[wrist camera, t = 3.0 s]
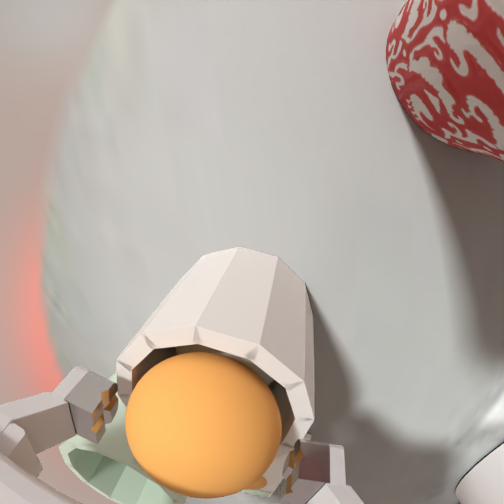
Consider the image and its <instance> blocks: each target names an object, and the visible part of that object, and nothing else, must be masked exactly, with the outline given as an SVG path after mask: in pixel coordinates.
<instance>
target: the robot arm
mask: <svg viewBox="0 0 504 504" xmlns="http://www.w3.org/2000/svg"><path fill="white" fill-rule="evenodd" d="M117 391H118V384H117V383H115V382H113V381H111V380H108V379H106V378H104V377H102V376H100V375H98V374H96V373H94V372H92V371H90V370H88V369H86V368H84V367H82V366H80V365H78V366H76V367H74V368H73V369H72V370H71V371H70V373H69V374H68V375H67V376H66V377H65V378H64V379H63V381H62V382H61V383H60V384H59V385H58V386H57V387H56V389H55V390H54V391H53V392H52V393H51V392H44V393H41V394H38V395H34V396H30V397H27V398H24V399H20V400H16V401H12V402H9V403H5V404H1V405H0V504H81V503H80V502H78V501H76V500H74V499H72V498H70V497H68V496H66V495H65V494H63V493H61V492H60V491H58V490H56V489H55V488H53V487H51V486H49V485H48V484H46V483H45V482H43V481H42V480H40V479H38V478H37V477H38V476H39V474H40V473H41V471H42V465H41V463H40V461H39V459H38V457H37V456H36V454H38V453H40V452H42V451H44V450H46V449H48V448H51V447H53V446H55V445H57V444H59V443H62V442H64V441H66V440H68V439H70V438H72V437H74V436H76V434H77V435H79V436H81V437H83V438H85V439H87V440H89V441H91V442H93V443H96V444H98V443H99V441H100V440H101V438H102V437H103V435H104V433H105V432H106V428H105V425H106V424H108V423H111V422H112V420H113V419H114V417H115V415H116V412H117V410H118V404H119V400H118V397H117V396H116V395H115V394H116V393H117ZM282 476H283V477H284V479H285V481H284V483H283V484H282V485H281V491H280V500H279V502H283V503H289V504H364V503H363V501H362V500H361V499H360V498H359V496H358V495H357V494H356V492H355V491H354V490H353V488H352V487H351V486H350V485H346V472H345V456H344V448H343V446H342V445H335V444H327V443H324V442H317V441H311V440H304V439H298V440H297V441H296V442H295V444H294V450H292V451H290V452H289V454H288V455H287V457H286V460H285V463H284V467H283V473H282ZM455 495H456V497H457V499H458V500H459V502H460V504H504V443H503V444H502V445H501V446H499V447H498V448H497V449H495V450H494V451H493V452H492V453H490V454H489V455H488V456H487V457H485V458H484V459H483V460H482V461H481V462H479V463H478V464H477V465H476V466H475V467H474V468H473V469H472V470H471V471H470V472H469V473H468V474H467V475H466V476H465V477H464V478H463V479H462V480H461V482H460V483H459V485H458V486H457V488H456V491H455Z"/></svg>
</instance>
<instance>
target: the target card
mask: <svg viewBox="0 0 504 504" xmlns="http://www.w3.org/2000/svg"><path fill="white" fill-rule="evenodd" d="M303 439H304V440H311V434H306V435H305V436H304V438H303ZM288 454H289V452H288V453H286V454H284V455H282V456H279V457H277V458H275V459H274V460H273V462H272V464H271V465H270V467H269V468H268V469H267V471H266V472H265V473H264V474H263V475H262V476H261V477H260V478H259V479H258V480H257V481H256V482H254V483H253V484H252V485H250V486H249V487H247V488H245V489H243V490H241V491H240V492H245V493H249V494H254V495H259V496H264V497H270V496H271V495H272V493H273V492H274V491H275V490H276V488H277V487H278V486H279V484H280V483H281V481H282V480H283V479H284V477H283V476H282V473H283V467H284V463H285V460H286V457H287V455H288Z"/></svg>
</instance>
